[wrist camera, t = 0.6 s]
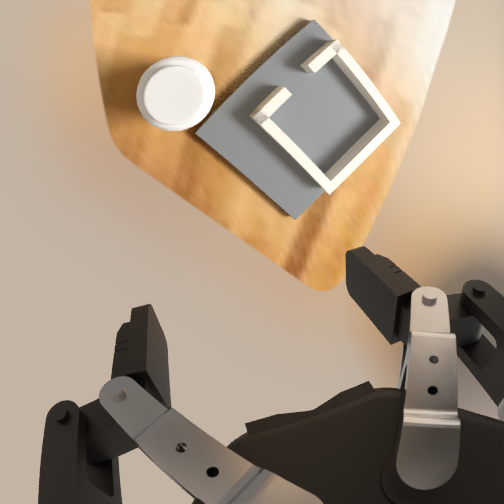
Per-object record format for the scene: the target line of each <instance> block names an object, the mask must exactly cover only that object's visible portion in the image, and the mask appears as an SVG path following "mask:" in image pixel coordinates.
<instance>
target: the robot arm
mask: <svg viewBox="0 0 504 504" xmlns="http://www.w3.org/2000/svg"><path fill="white" fill-rule="evenodd" d="M346 285H347V290H348V292H349V294H350V296H351V297H352V298H353V300H354V301H355V302H356V303H357V304H358V305H359V307H360V308H361V309H362V310H363V311H364V313H365V314H366V315H367V316H368V317H369V319H370V320H371V321H372V322H373V324H374V325H375V326H376V327H377V328H378V330H379V331H380V332H381V333H382V334H383V336H384V337H385V338H386V339H387V341H388V342H389V343H390V344H391V345H392V344H394V343H396V342H399V341H402V342H403V348H402V357H401V366H400V373H399V381H398V387H397V388H375V389H374V388H373V387H372V385H371V384H370V382H369V381H367V382H365V383H363V384H360V385H358V386H356V387H353V388H350V389H348V390H345V391H343V392H340V393H339V394H337V395H336V396H335V397H333V398H331V399H330V400H328V401H327V402H325V403H324V404H322V405H320V406H319V407H317V408H316V409H314V410H311V411H305V412H295V413H285V414H276V415H273V416H270V417H266V418H263V419H259V420H256V421H252V422H249V423H245V425H246V428H247V433H245V434H243V435H241V436H240V437H238V438H237V439H235V440H234V441H233V442H231V443H230V444H229V445H228V446H227V447H226V446H224V445H223V444H221V443H220V442H218V441H217V440H215V439H214V438H213V437H211V436H210V435H208V434H207V433H206V432H204V431H203V430H201V429H200V428H199V427H197V426H196V425H195V424H193V423H192V422H191V421H189V420H188V419H187V418H185V417H184V416H183V415H181V414H180V413H179V412H177V411H176V410H175V409H173V408H171V399H170V398H171V397H170V383H169V368H168V348H167V342H166V338H165V336H164V333H163V330H162V328H161V326H160V323H159V321H158V319H157V316H156V314H155V312H154V310H153V307H152V305H151V304H147V305H143V306H139V307H135V308H132V311H131V319H130V322H127V323H123V325H122V326H121V328H120V329H119V331H118V333H117V337H116V345H115V353H114V359H113V367H112V375H111V380H110V381H108V382H107V383H106V384H105V385H104V386H103V387H102V389H101V390H100V393H99V399H97V400H95V401H93V402H91V403H88V404H86V405H84V406H82V407H80V408H79V407H78V406H77V405H76V403H74V402H73V401H69V400H66V401H61V402H59V403H57V404H55V405H54V406H53V407H52V408H51V409H50V410H49V412H48V414H47V417H46V423H45V430H44V437H43V446H42V454H41V466H40V479H39V496H38V504H122V498H121V488H120V476H119V462H118V456H120V455H122V454H125V453H127V452H129V451H131V450H133V449H135V448H139V449H141V451H142V452H144V454H145V455H146V456H147V457H148V458H150V460H152V461H153V462H154V463H155V464H156V465H157V466H158V467H159V468H160V469H161V470H162V471H163V472H164V473H165V474H166V475H168V476H169V477H170V478H171V479H172V480H173V481H174V482H175V483H176V484H177V485H179V486H180V487H181V488H182V489H183V490H185V492H187V493H188V494H189V495H190V496H191V497H193V498H194V501H193V503H192V504H504V297H503V296H502V295H501V294H500V293H499V292H497V291H496V290H495V289H494V288H493V287H492V286H491V285H489V284H488V283H486V282H484V281H480V280H470V281H467V282H466V283H465V284H464V286H463V289H462V293H459V294H453V295H445V293H444V292H443V291H441V290H440V289H438V288H435V287H428V286H425V287H421V286H420V285H418V284H417V283H416V282H415V281H414V280H413V279H412V278H410V277H409V276H408V275H407V274H406V273H405V272H404V271H402V270H401V269H400V268H399V267H398V266H396V265H395V264H394V263H393V262H392V261H391V260H389V259H388V258H386V257H383V256H381V255H378V254H377V255H374V254H373V253H372V252H371V251H370V250H368V249H367V248H366V247H364V246H362V247H359V248H355V249H352V250H349V251H347V252H346ZM484 327H485V328H486V329H487V330H488V331H489V332H490V334H491V335H492V336H493V337H494V338H495V340H496V344H497V348H495V347H494V346H493V345H492V344H491V343H490V342H489V340H488V339H487V338H486V337H485V336H484V335H483V334H482V332H483V330H484ZM457 355H458V357H459V358H460V359H461V361H462V362H463V363H464V364H465V365H466V367H467V368H468V369H469V370H470V372H471V373H472V374H473V375H474V377H475V378H476V379H477V380H478V382H479V383H480V384H481V386H482V387H483V388H484V389H485V391H486V392H487V393H488V394H489V396H490V397H491V399H492V400H493V401H494V403H495V404H496V405H497V407H498V415H499V419H500V420H498V419H494V418H491V417H487V416H484V415H480V414H477V413H474V412H470V411H467V410H464V409H461V408H458V373H457Z"/></svg>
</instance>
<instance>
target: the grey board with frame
mask: <svg viewBox="0 0 504 504" xmlns="http://www.w3.org/2000/svg"><path fill="white" fill-rule="evenodd" d="M399 124H400V121H399V120H398V118H397V117H396V115H395V114H394V112H393V111H392V110H391V108H390V107H389V105H388V104H387V102H386V101H385V100H384V98H383V97H382V95H381V94H380V93H379V91H378V90H377V88H376V87H375V86H374V84H373V83H372V82H371V80H370V79H369V78H368V77H367V75H366V74H365V73H364V71H363V70H362V69H361V68H360V66H359V65H358V64H357V63H356V61H355V60H354V59H353V58H352V56H351V55H350V54H349V53H348V52H347V50H346V49H345V48H344V47H343V46H342V45H341V43H340V42H339V41H338V40H337V39H336V40H333V39H332V38H331V37H330V36H329V35H328V34H327V33H326V32H325V30H324V29H323V28H322V27H321V26H320V25H319V24H318V23H317V22H316V21H315V20H311V21H310V22H308V23H307V24H306V25H305V26H304V27H302V28H301V29H300V30H299V31H298V32H297V33H295V34H294V35H293V36H292V37H291V38H290V39H288V40H287V41H286V42H285V43H284V44H283V45H282V46H280V47H279V48H278V49H277V50H276V51H275V52H274V53H273V54H272V55H271V56H269V57H268V58H267V59H266V60H265V61H264V62H263V63H262V64H261V65H260V66H259V67H258V68H257V69H256V70H254V71H253V72H252V73H251V74H250V75H249V76H248V77H247V78H246V79H245V80H244V81H243V82H242V83H241V84H240V85H239V86H238V87H237V88H236V89H235V90H234V91H233V92H232V93H231V94H230V95H229V96H228V97H227V98H226V99H225V100H224V101H223V102H222V103H221V104H220V105H219V106H218V107H217V108H216V110H215V111H214V112H213V113H212V114H211V115H210V116H209V117H208V118H207V119H206V120H205V121H204V122H203V123H202V125H201V126H200V127H199V128H198V129H197V130H196V131H195V134H197V135H198V136H199V137H200V138H201V139H203V140H204V141H205V142H206V143H207V144H209V145H210V146H211V147H212V148H213V149H215V150H216V151H217V152H218V153H219V154H220V155H222V156H223V157H224V158H225V159H226V160H228V161H229V162H230V163H231V164H232V165H233V166H235V167H236V168H237V169H238V170H239V171H240V172H241V173H243V174H244V175H245V176H246V177H247V178H248V179H250V180H251V181H252V182H253V183H254V184H255V185H256V186H258V187H259V188H260V189H261V190H262V191H263V192H264V193H265V194H267V195H268V196H269V197H270V198H271V199H272V200H273V201H274V202H276V203H277V204H278V205H279V206H280V207H281V208H282V209H283V210H285V211H286V212H287V213H288V214H289V215H290V216H291V217H292V218H293V219H294V220H296V219H297V218H298V217H299V216H300V215H301V214H302V213H303V212H304V211H305V210H306V209H307V208H308V207H309V206H310V205H311V204H312V203H313V202H314V201H315V200H316V199H317V198H318V197H319V196H320V195H321V194H322V193H323V192H324V191H326V192H327V193H328V194H329V195H330V194H331V193H332V192H333V191H334V190H335V189H336V188H337V187H338V186H339V185H340V184H341V183H342V182H343V181H344V180H345V179H346V178H347V177H348V176H349V175H350V174H351V173H352V172H353V171H354V170H355V169H356V168H357V167H358V166H359V165H360V164H361V163H362V162H363V161H364V160H365V159H366V158H367V157H368V156H369V155H370V154H371V153H372V152H373V151H374V150H375V149H376V148H377V147H378V146H379V145H380V144H381V143H382V142H383V141H384V140H385V139H386V138H387V137H388V136H389V135H390V134H391V133H392V132H393V131H394V130H395V129H396V128H397V127H398V126H399Z"/></svg>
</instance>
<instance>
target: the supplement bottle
mask: <svg viewBox="0 0 504 504" xmlns="http://www.w3.org/2000/svg"><path fill="white" fill-rule="evenodd" d="M214 98H215V85H214V81H213V78H212V76H211V74H210V73H209V71H208V70H207V69H206V68H205V67H204V66H203V65H202V64H201V63H199V62H198V61H196V60H194V59H192V58H188V57H183V56H172V57H167V58H164V59H161V60H159V61H157V62H156V63H154V64H153V65H151V66H150V67H149V68H148V69H147V70H146V71H145V72H144V74H143V75H142V77H141V79H140V81H139V83H138V87H137V92H136V100H137V105H138V108H139V110H140V112H141V114H142V116H143V117H144V118H145V119H146V120H147V121H148V122H149V123H150V124H152V125H153V126H155V127H157V128H159V129H162V130H166V131H181V130H185V129H188V128H190V127H193V126H194V125H196V124H198V123H199V122H200V121H201V120H203V119H204V118H205V116H206V115H207V114H208V112H209V111H210V109H211V107H212V105H213V102H214Z"/></svg>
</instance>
